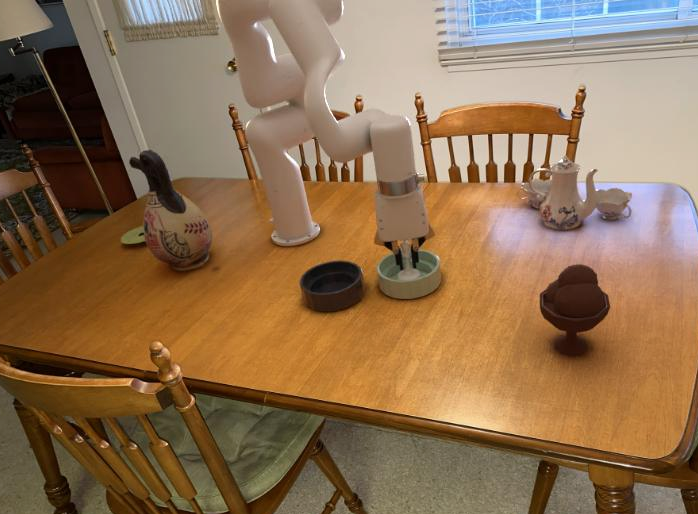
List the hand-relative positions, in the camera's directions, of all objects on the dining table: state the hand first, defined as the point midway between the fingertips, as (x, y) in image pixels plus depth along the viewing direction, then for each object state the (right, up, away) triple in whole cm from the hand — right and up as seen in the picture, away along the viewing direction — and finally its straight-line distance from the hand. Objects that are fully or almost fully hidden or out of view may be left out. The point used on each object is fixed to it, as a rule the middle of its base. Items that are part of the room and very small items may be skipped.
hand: (407, 265), depth 115 cm
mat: (-72, +10, +40) cm, 83 cm away
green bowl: (+1, -3, +2) cm, 4 cm away
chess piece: (0, -3, +2) cm, 3 cm away
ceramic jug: (-53, +2, +24) cm, 58 cm away
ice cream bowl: (+27, -15, -21) cm, 37 cm away
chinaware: (+39, +13, +17) cm, 44 cm away
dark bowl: (-15, -6, +2) cm, 17 cm away
